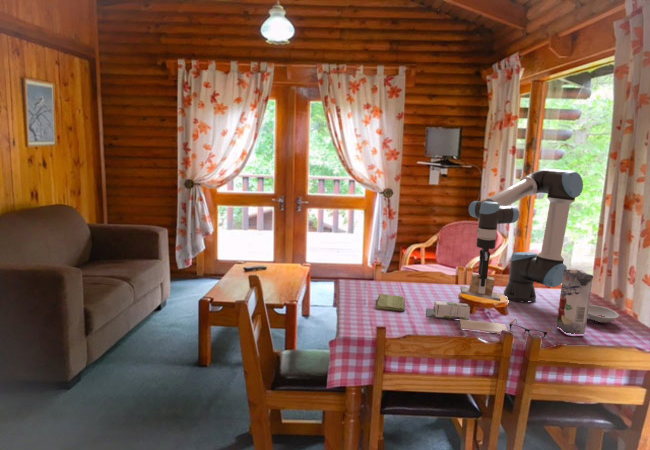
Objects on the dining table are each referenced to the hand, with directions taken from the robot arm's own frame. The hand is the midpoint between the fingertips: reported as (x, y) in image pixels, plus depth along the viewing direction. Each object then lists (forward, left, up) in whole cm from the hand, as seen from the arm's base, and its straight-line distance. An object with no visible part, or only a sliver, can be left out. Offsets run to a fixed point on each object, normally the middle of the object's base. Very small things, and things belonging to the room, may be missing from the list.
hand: (480, 291), depth 220 cm
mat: (+14, 0, -12) cm, 19 cm away
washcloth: (+38, -5, -13) cm, 40 cm away
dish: (-52, -14, -12) cm, 55 cm away
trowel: (0, 0, -1) cm, 1 cm away
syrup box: (+4, +2, -9) cm, 10 cm away
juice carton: (-36, +5, -12) cm, 38 cm away
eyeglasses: (-20, +9, -13) cm, 25 cm away
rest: (-1, +12, -12) cm, 17 cm away
